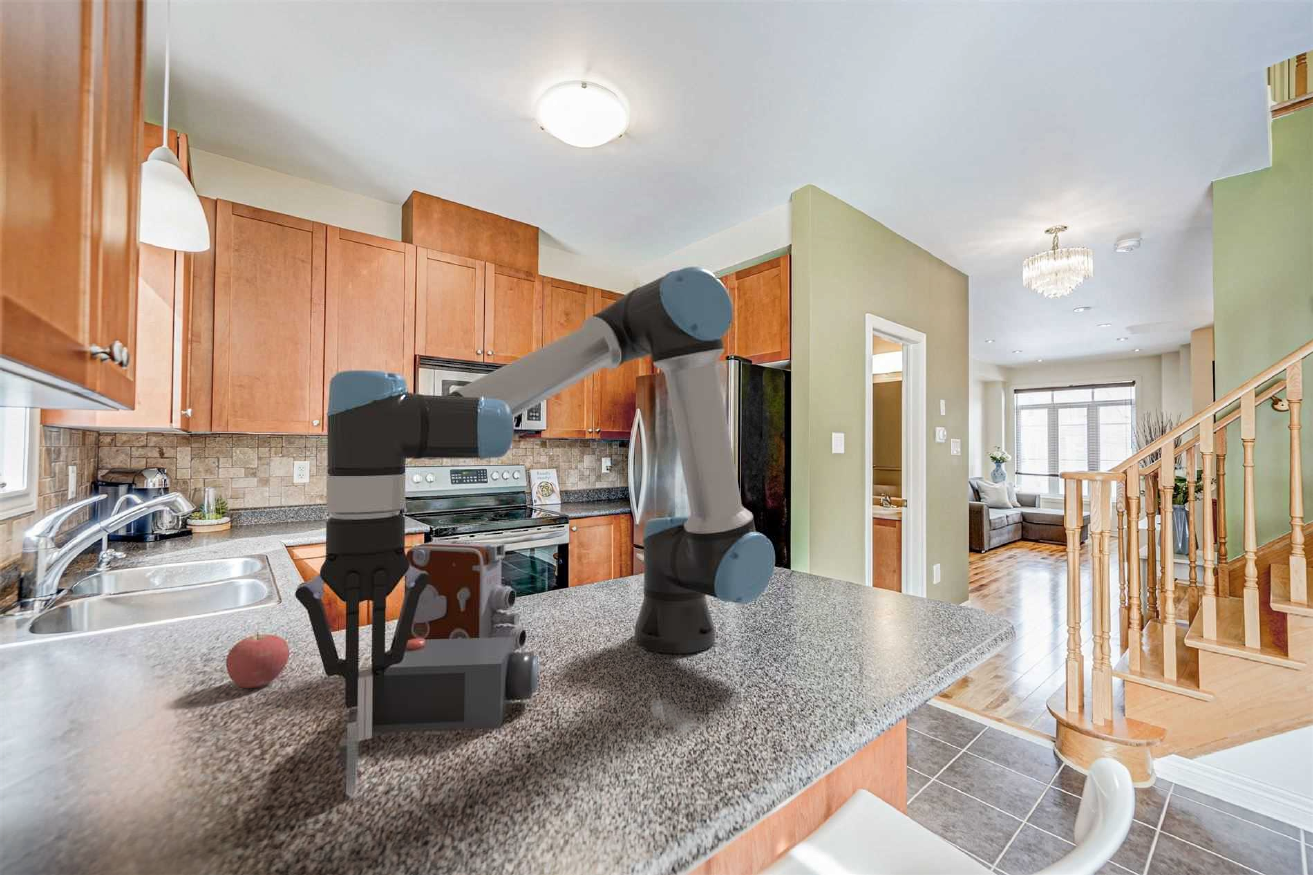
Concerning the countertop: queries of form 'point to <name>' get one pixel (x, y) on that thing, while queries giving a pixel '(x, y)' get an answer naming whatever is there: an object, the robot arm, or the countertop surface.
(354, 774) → the side door
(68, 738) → the countertop surface
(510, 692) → the camera block
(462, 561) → the cine camera
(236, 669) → the apple
